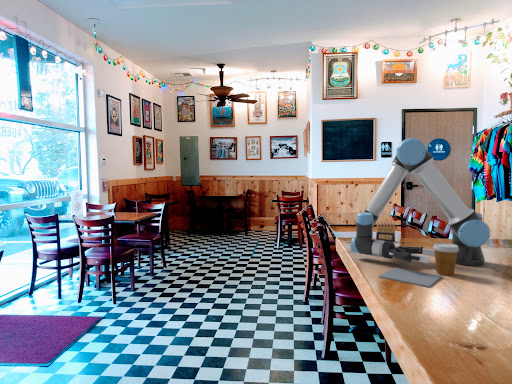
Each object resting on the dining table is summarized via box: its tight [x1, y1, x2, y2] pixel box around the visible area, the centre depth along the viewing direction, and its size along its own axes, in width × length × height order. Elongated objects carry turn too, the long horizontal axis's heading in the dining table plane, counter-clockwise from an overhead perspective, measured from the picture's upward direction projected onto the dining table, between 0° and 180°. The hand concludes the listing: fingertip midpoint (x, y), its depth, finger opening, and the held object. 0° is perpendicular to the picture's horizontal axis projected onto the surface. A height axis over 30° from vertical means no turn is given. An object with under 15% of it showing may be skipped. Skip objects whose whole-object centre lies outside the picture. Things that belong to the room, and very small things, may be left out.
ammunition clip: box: [375, 220, 396, 243], centre depth 220 cm, size 11×2×12 cm, turn 62°
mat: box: [378, 266, 443, 288], centre depth 148 cm, size 17×19×1 cm
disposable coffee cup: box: [432, 242, 459, 277], centre depth 153 cm, size 10×10×12 cm
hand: (433, 256), depth 155 cm, fingers open, 13 cm apart
